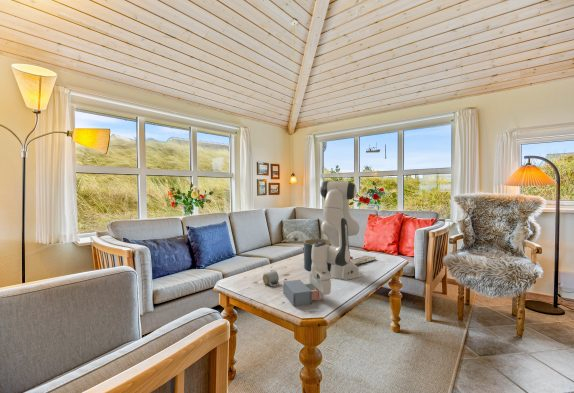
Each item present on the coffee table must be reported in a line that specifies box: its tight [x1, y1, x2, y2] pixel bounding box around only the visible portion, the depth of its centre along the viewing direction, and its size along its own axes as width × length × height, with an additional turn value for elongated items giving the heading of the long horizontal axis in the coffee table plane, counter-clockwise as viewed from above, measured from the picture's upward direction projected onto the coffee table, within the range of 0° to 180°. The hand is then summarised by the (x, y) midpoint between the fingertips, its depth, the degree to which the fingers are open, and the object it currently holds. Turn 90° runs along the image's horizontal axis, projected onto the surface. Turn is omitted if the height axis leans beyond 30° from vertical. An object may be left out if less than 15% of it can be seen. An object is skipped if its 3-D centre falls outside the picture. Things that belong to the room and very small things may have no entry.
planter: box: [303, 238, 331, 272], centre depth 207 cm, size 22×22×20 cm
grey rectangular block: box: [283, 279, 313, 307], centre depth 152 cm, size 11×18×7 cm, turn 18°
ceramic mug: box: [262, 270, 280, 288], centre depth 174 cm, size 11×8×8 cm
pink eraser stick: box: [311, 290, 324, 302], centre depth 149 cm, size 14×1×5 cm, turn 108°
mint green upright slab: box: [303, 282, 315, 290], centre depth 159 cm, size 14×1×5 cm, turn 108°
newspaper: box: [350, 255, 377, 266], centre depth 223 cm, size 35×12×4 cm, turn 132°
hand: (319, 296), depth 150 cm, fingers closed on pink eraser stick
